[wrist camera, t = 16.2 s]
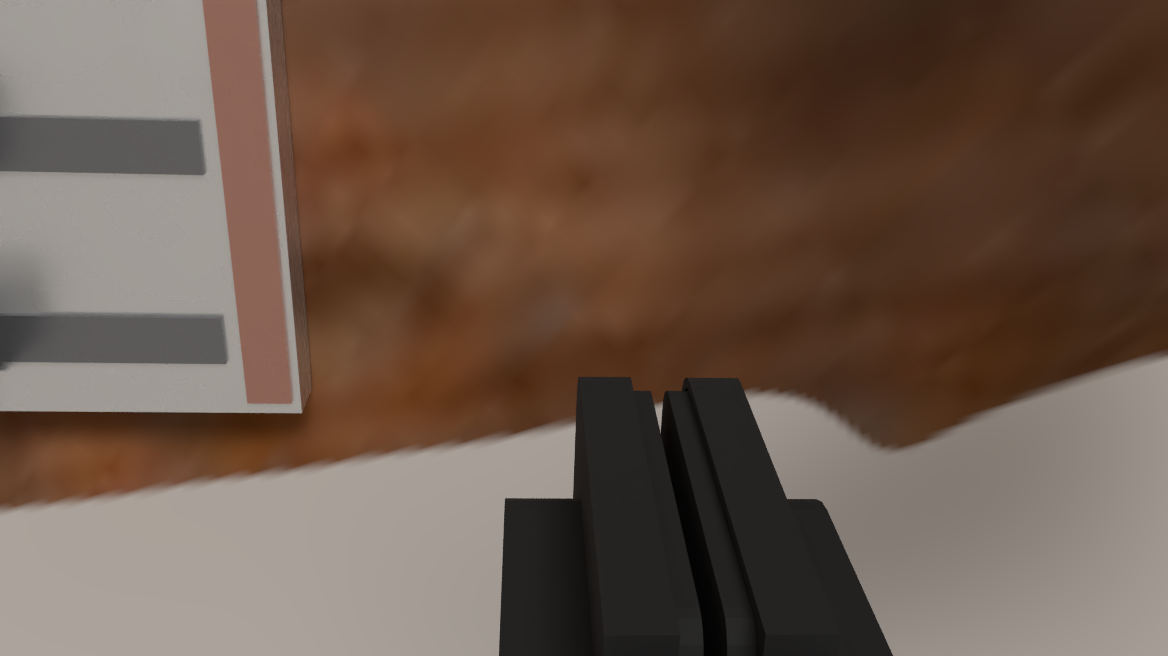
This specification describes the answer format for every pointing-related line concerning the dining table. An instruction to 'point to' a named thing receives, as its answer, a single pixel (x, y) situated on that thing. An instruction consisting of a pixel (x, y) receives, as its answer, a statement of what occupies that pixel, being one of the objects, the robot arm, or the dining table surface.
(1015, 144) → the dining table surface
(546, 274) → the dining table surface
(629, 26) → the dining table surface
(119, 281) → the panel
